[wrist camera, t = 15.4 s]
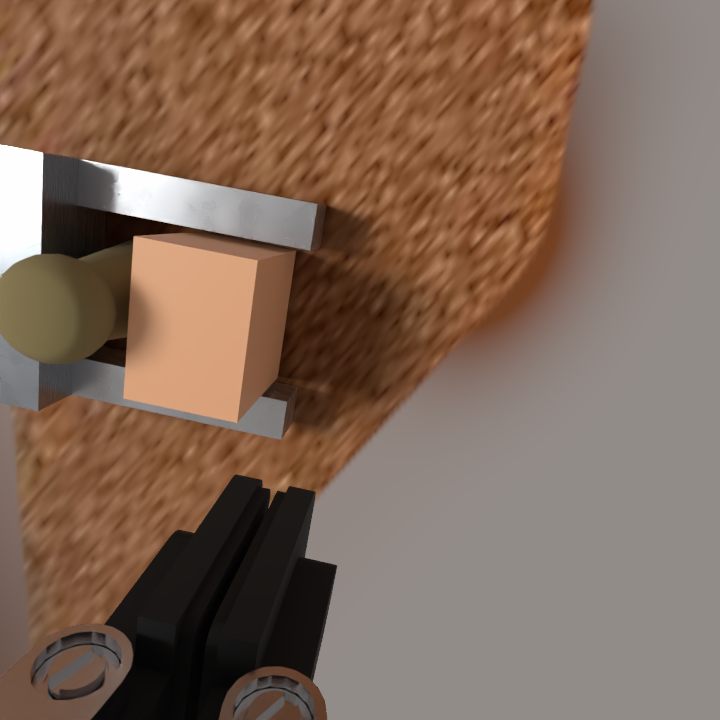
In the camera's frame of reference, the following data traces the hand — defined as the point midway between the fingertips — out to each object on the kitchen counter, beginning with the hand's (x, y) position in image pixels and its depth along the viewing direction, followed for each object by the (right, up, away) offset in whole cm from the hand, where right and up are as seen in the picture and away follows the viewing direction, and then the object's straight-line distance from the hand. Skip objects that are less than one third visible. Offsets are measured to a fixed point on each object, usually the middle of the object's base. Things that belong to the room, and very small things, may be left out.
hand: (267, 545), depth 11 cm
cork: (-11, +9, +24) cm, 28 cm away
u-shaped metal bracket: (-9, +8, +23) cm, 26 cm away
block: (-6, +7, +23) cm, 25 cm away
